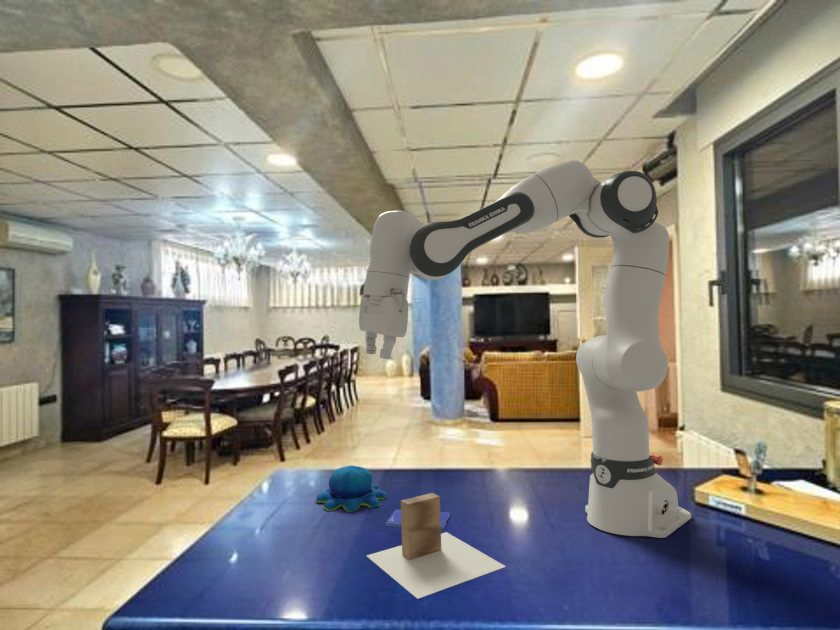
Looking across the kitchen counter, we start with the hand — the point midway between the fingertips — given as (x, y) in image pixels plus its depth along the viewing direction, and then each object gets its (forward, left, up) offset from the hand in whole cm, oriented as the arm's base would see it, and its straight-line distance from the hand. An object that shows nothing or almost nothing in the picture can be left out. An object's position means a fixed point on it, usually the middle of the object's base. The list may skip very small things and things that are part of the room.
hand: (377, 356), depth 105 cm
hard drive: (-10, -2, -37) cm, 38 cm away
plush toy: (-4, -24, -37) cm, 44 cm away
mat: (-2, +16, -36) cm, 40 cm away
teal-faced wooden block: (-2, +12, -36) cm, 38 cm away
